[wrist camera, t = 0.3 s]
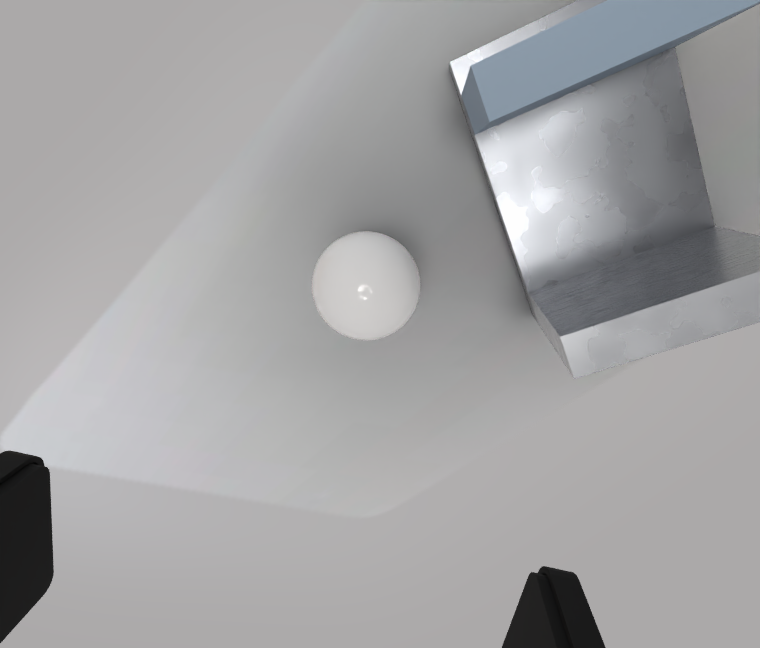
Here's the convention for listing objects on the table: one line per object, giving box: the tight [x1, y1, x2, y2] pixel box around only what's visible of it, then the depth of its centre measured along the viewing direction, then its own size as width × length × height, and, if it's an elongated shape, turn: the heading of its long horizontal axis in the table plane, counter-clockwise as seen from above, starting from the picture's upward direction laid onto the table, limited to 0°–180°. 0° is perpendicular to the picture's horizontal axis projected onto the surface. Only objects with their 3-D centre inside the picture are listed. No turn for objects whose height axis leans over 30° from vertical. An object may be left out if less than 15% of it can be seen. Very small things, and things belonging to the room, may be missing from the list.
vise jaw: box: [461, 0, 760, 135], centre depth 24 cm, size 12×2×9 cm, turn 113°
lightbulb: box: [312, 231, 421, 340], centre depth 30 cm, size 6×6×11 cm
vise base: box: [449, 0, 760, 379], centre depth 26 cm, size 12×18×11 cm, turn 23°
